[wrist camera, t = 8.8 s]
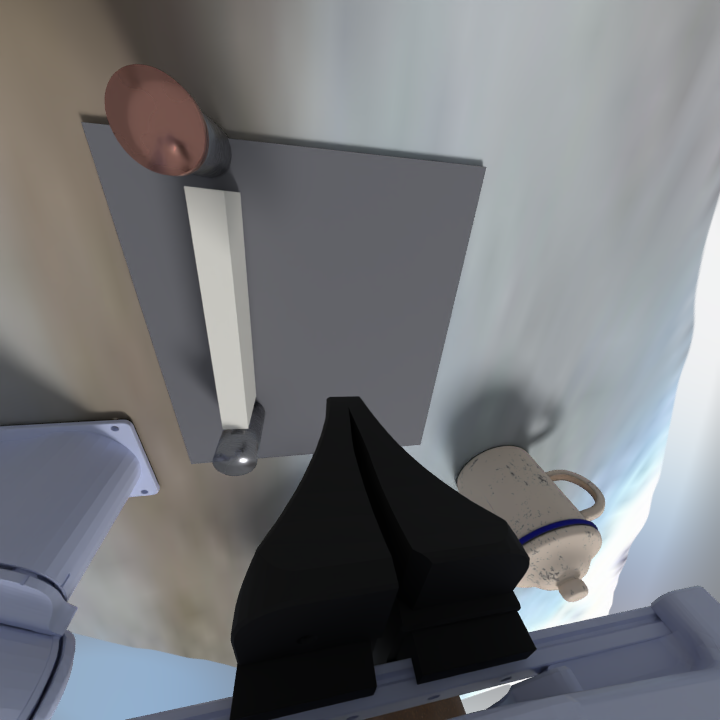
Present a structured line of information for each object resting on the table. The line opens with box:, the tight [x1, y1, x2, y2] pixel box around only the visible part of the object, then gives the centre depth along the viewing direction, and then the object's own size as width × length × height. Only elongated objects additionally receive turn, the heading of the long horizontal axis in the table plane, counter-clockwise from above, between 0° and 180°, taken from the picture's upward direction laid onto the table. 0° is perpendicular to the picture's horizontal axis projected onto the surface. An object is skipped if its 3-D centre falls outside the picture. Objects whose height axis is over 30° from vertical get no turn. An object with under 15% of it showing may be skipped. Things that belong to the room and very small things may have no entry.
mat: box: [81, 122, 486, 464], centre depth 20 cm, size 20×22×1 cm
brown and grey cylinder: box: [105, 64, 232, 178], centre depth 12 cm, size 3×3×6 cm
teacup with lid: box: [457, 446, 605, 602], centre depth 27 cm, size 12×9×12 cm
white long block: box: [184, 186, 256, 429], centre depth 16 cm, size 13×2×4 cm, turn 173°
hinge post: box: [212, 401, 265, 476], centre depth 20 cm, size 3×3×5 cm
